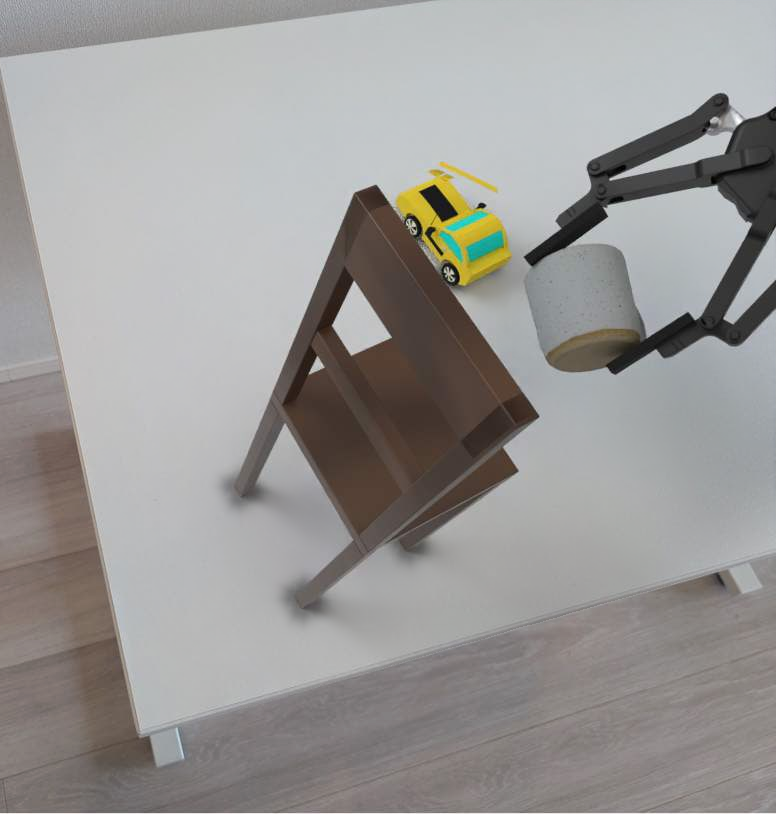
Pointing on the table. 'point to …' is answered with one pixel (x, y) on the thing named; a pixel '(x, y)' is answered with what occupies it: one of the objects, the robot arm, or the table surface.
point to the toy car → (455, 228)
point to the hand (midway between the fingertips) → (569, 315)
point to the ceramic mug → (583, 307)
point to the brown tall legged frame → (391, 397)
